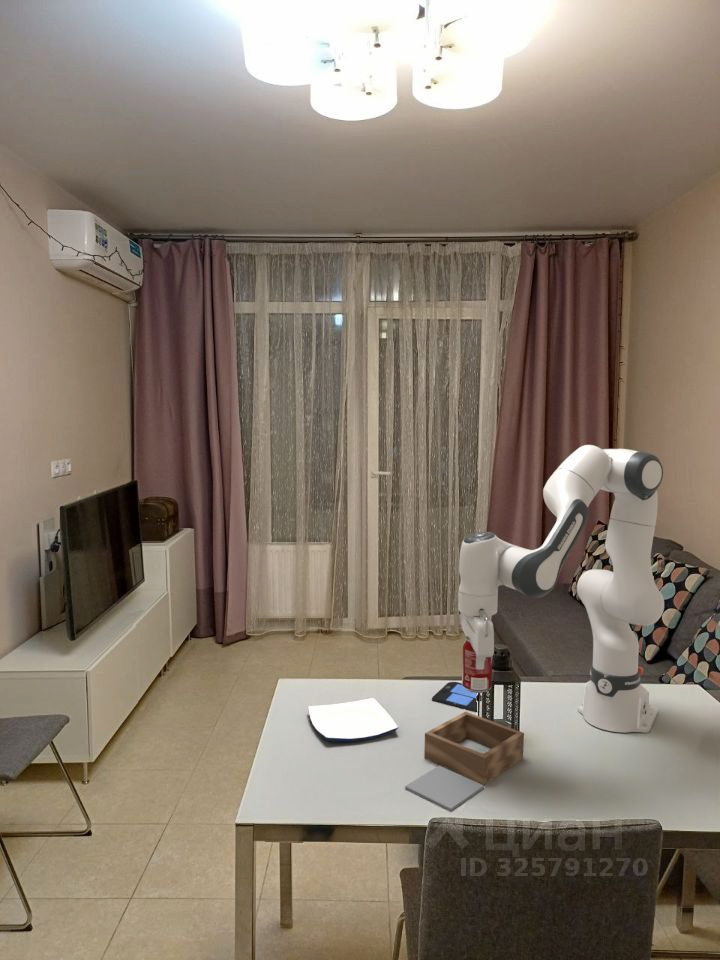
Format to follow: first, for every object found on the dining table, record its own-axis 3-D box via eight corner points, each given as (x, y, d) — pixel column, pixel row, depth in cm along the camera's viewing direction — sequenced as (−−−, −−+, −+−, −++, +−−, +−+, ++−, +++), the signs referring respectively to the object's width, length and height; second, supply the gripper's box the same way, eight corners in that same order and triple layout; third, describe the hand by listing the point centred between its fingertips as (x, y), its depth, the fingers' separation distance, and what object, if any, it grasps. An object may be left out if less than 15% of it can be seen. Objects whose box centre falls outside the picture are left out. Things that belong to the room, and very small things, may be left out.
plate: (375, 705, 189) (375, 696, 189) (403, 739, 170) (403, 728, 169) (303, 715, 182) (303, 705, 182) (323, 750, 163) (323, 740, 163)
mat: (438, 768, 155) (439, 765, 155) (483, 788, 147) (484, 785, 147) (405, 788, 146) (405, 786, 146) (450, 811, 138) (450, 808, 138)
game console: (430, 702, 192) (430, 694, 191) (450, 687, 202) (450, 680, 202) (478, 715, 184) (478, 707, 184) (496, 698, 195) (496, 691, 194)
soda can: (490, 696, 154) (492, 644, 153) (460, 692, 156) (461, 641, 155) (492, 684, 161) (493, 634, 160) (463, 681, 162) (464, 632, 161)
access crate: (464, 734, 171) (465, 711, 171) (523, 757, 160) (524, 733, 160) (424, 757, 160) (424, 733, 159) (484, 784, 148) (485, 758, 148)
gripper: (502, 617, 146) (500, 679, 147) (482, 592, 166) (481, 647, 168) (472, 617, 146) (471, 680, 147) (456, 592, 166) (455, 647, 167)
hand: (476, 662), depth 157 cm, fingers closed on soda can, 6 cm apart
